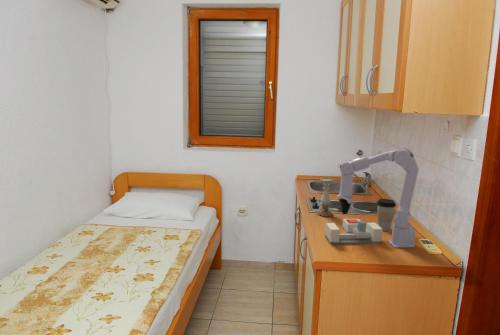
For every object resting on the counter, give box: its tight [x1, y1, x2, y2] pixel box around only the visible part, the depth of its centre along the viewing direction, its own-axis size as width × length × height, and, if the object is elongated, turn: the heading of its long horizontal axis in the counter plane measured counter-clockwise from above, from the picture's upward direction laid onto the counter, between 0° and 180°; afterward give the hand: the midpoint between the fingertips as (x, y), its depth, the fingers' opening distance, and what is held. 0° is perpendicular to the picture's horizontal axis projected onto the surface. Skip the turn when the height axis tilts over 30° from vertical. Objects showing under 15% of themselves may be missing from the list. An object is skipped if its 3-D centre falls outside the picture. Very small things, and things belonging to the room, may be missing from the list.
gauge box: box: [341, 218, 361, 234], centre depth 198 cm, size 8×8×5 cm
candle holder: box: [316, 177, 334, 217], centre depth 222 cm, size 9×9×20 cm
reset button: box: [347, 218, 358, 224], centre depth 197 cm, size 4×4×4 cm
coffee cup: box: [375, 198, 397, 232], centre depth 200 cm, size 9×9×15 cm
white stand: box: [324, 222, 383, 246], centre depth 185 cm, size 24×10×7 cm, turn 94°
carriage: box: [352, 220, 370, 238], centre depth 185 cm, size 6×7×7 cm
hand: (344, 213), depth 192 cm, fingers closed
